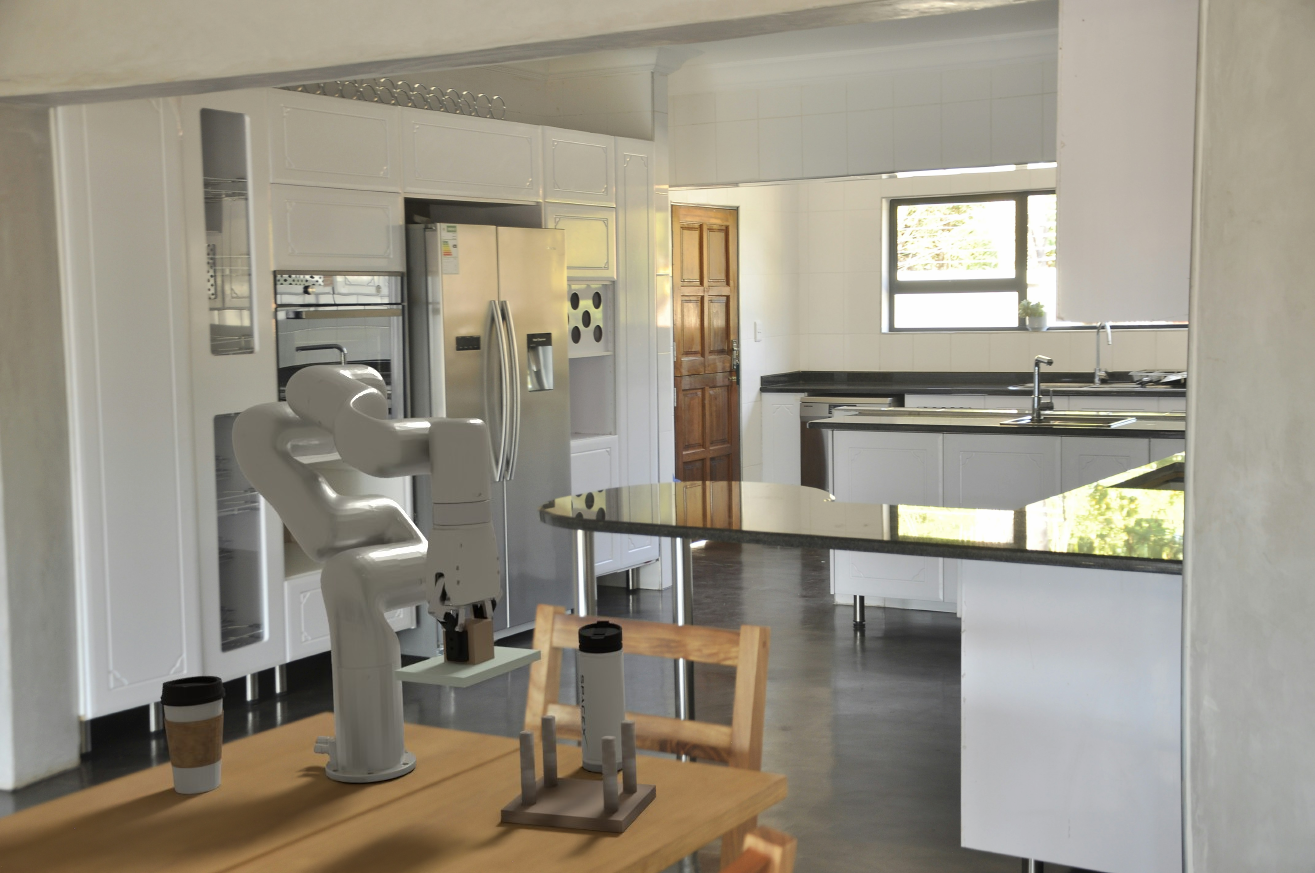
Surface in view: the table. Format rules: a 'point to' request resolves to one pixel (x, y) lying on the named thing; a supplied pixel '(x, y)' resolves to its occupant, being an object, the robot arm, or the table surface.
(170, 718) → the coffee cup
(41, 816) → the table surface
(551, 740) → the peg stand
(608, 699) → the travel mug
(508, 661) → the shelf board
